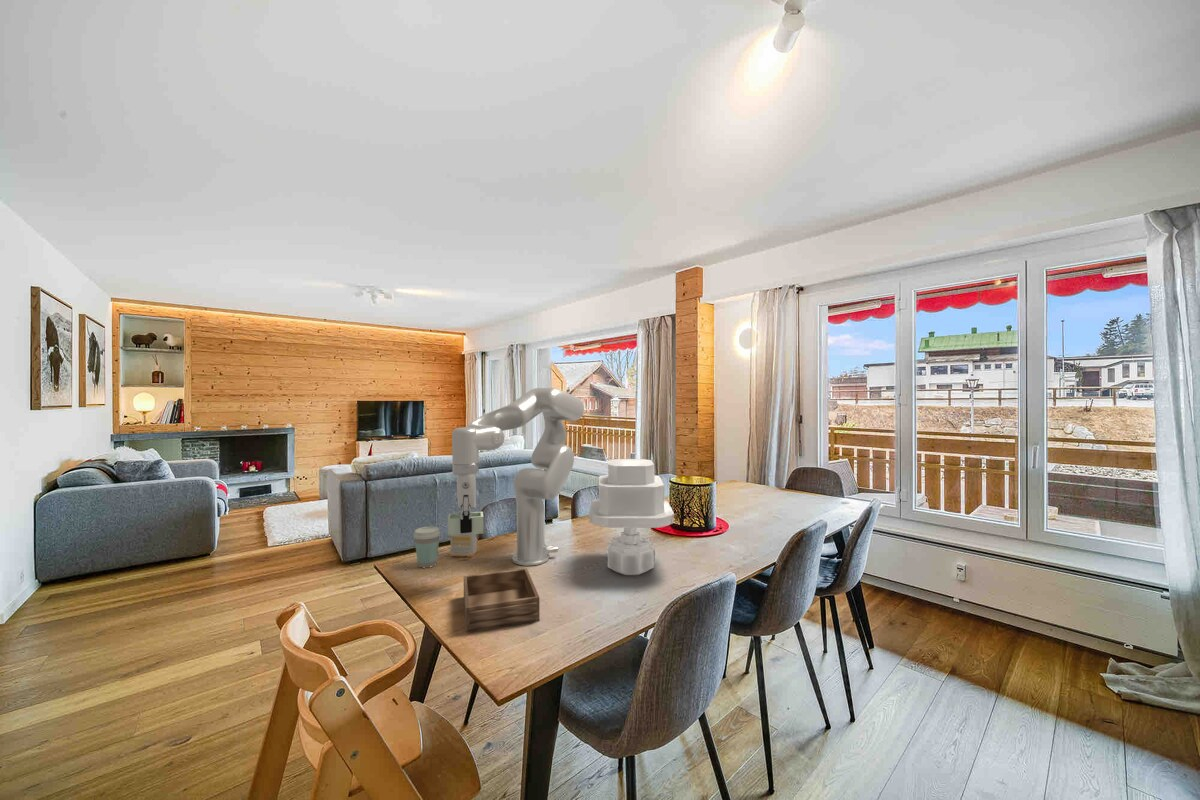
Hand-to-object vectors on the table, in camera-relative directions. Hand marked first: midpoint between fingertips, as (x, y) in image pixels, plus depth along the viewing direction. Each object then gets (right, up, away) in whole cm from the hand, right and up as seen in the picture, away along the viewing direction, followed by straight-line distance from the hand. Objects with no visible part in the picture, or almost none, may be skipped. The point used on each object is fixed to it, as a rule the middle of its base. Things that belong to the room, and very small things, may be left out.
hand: (466, 528), depth 136 cm
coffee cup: (-18, -17, +18) cm, 31 cm away
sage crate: (0, -1, 0) cm, 1 cm away
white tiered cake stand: (+50, -17, +15) cm, 55 cm away
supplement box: (-9, -17, +27) cm, 33 cm away
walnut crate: (+13, -18, -13) cm, 26 cm away
